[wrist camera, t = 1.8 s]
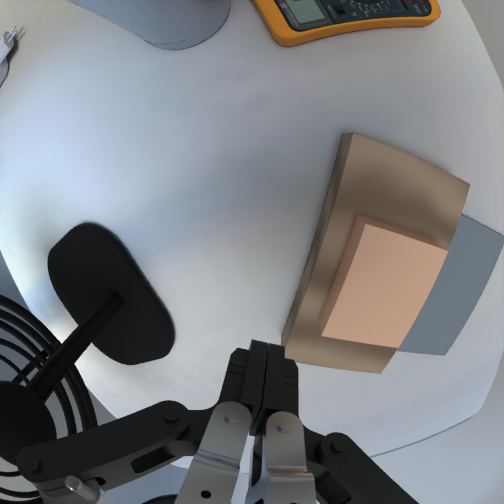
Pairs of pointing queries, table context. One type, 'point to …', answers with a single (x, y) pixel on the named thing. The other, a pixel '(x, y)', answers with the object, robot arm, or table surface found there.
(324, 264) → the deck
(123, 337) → the desk fan
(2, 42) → the charger
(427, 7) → the multimeter
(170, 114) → the table surface
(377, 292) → the tile
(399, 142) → the table surface
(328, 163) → the table surface
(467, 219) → the mat
